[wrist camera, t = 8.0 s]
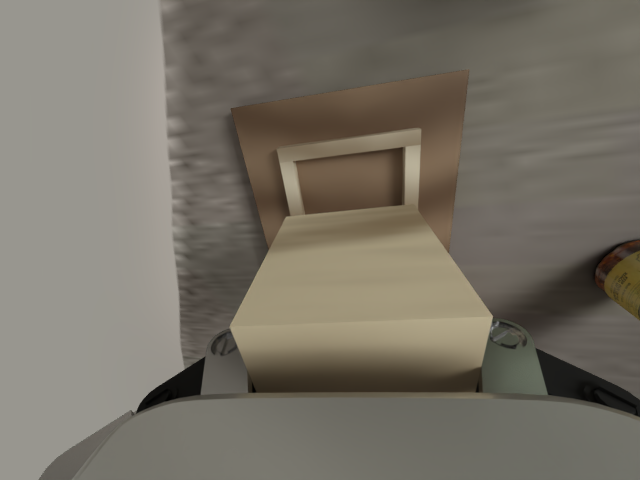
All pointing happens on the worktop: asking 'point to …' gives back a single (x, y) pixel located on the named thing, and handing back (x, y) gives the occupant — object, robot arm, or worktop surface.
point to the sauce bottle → (622, 276)
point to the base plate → (357, 150)
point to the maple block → (361, 308)
